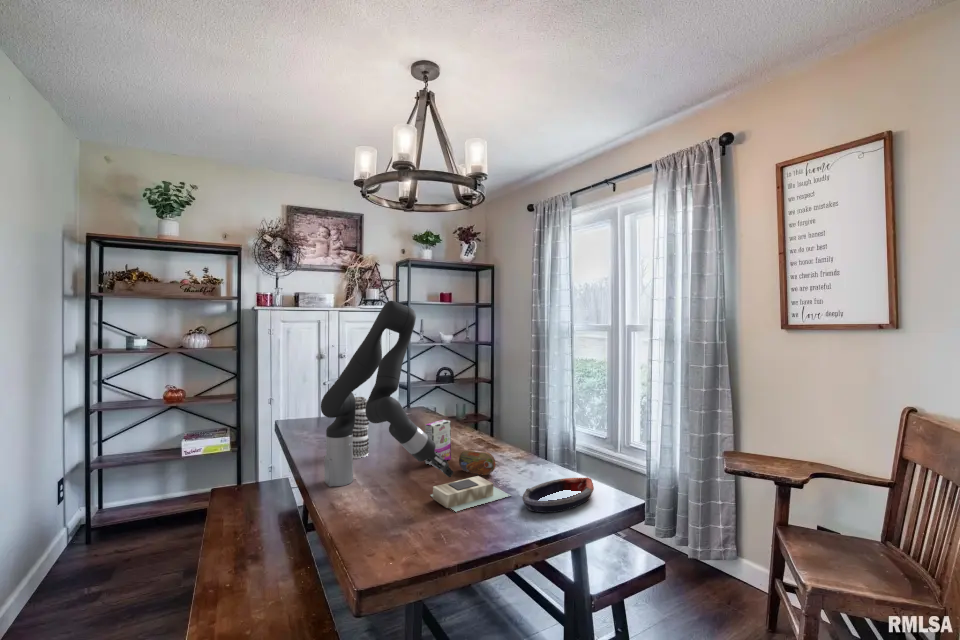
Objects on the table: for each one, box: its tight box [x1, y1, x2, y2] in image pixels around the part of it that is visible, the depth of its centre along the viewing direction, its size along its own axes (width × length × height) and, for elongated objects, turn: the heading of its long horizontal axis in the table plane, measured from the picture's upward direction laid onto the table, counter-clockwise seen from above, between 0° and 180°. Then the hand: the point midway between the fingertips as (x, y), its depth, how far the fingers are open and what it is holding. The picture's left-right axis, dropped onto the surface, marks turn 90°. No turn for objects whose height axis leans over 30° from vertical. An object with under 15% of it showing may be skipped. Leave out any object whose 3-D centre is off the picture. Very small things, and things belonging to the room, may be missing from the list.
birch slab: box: [432, 475, 494, 509], centre depth 152 cm, size 4×9×18 cm
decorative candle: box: [353, 396, 370, 459], centre depth 199 cm, size 9×9×25 cm
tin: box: [458, 449, 496, 476], centre depth 177 cm, size 15×3×8 cm, turn 62°
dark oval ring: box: [521, 476, 595, 513], centre depth 150 cm, size 16×31×5 cm, turn 126°
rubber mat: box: [430, 485, 512, 513], centre depth 154 cm, size 22×16×1 cm
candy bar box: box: [424, 419, 452, 466], centre depth 190 cm, size 11×5×16 cm, turn 143°
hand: (450, 474), depth 150 cm, fingers closed
